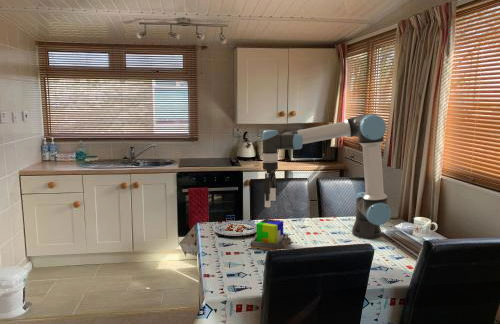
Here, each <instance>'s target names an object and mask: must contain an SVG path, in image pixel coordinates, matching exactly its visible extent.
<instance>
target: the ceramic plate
mask: <svg viewBox="0 0 500 324" xmlns="http://www.w3.org/2000/svg"><path fill="white" fill-rule="evenodd" d="M231 223H239V224H247V225H250V226H252V227H253V228H254V230H253V231H252V232H250V233H246V234H226V233H222V232H221V231H220V230H219V227H221V226H223V225H226V224H229V225H228V226H229V227H227V228H226V230H225V231H233V229H231V228H235V227H236V226H237V225H233V224H231ZM230 227H231V228H230ZM242 228H244V229H246V227H245V226H244V225H239V226H238V228H237V229H235V231H236V232H243V230H244V229H243V230H242ZM248 229H250V228H247V230H248ZM213 230H214V232H215V233H217V234H220V235H224V236H229V237H240V236H242V235H243V236H248V235H253V234H255V233H257V223H255V222H251V221H245V220H234V221H233V220H232V221H225V222H221V223H218V224H216V225H215V226H214V227H213ZM243 236H242V237H243Z"/></svg>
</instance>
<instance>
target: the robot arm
mask: <svg viewBox="0 0 500 324" xmlns="http://www.w3.org/2000/svg"><path fill="white" fill-rule="evenodd" d="M386 131H387V124H386V121H385V120H384V118H382V116H379V115H377V114H374V113H371V114H369V113H367V114H366V113H365V114H363V113H362V114H360V115H356V116H354V117H349V118H346V119H345V120H344V121H340V122H339V121H338V122H335V123H331V124H330V123H329V124H325V125H320V126H314V127H308V128H304V129H297V130H294V131H293V130H292V131H286V132H284V133H279V131H278V130H277V129H266V130H265V129H264V130H263V132H262V139H261V141H262V144H261V146H262V154H261V157H262V161H263V162H262V170H263V171H266V172H265V173H264V185H263V186H264V187H263V188H264V189H263V192H262V194H263V195H264V208H271V207H272V206H271V203H272V201H273V202H276V199H277V196H276V194H277V193H276V191H277V189H276V188H278V185H277V178H276V177H277V175H276V171H277V170H278V169H279V162H278V161H279V150H301V149H303V145H306V144H311V143H316V142H320V141H326V140H331V139H332V140H333V139H336V138H337V139H338V138H343V137H348V138H352V137H358V144H360V146H362V160H363V173H364V174H363V175H364V188H365V191H361V192H357V193H356V197H355V199H356V200H355V204H356V205H355V207H356V208H355V221H354V224H353V226H352V230H351V232H352V234H351V235H353V236H355V237H356V238H361V239H367V240H369V239H370V240H371V239H378V238H380V237H382V229H381V226H382V225H384V224H386V223H387V222H388V221H389V220H390V219H391V217H392V210H391V208H390V206H389V205H388V203H389V202H388V195H387V194H386V193H385V191H384V178H383V177H384V176H383V175H384V174H383V161H382V160H383V159H382V144H383V143H384V142H385V138H384V136H385V134H386Z"/></svg>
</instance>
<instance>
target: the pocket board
mask: <svg viewBox="0 0 500 324" xmlns="http://www.w3.org/2000/svg"><path fill="white" fill-rule="evenodd" d="M289 242H291V236H289V234H288V233H283V241H282V242H280V243H266V242H257V233H256V234H255V236H254V237H253V238H252V239H251V240H250V243H249V244H248V246H247V247H251V248H259V249H258V250H261V249H266V250H265V251H273V250H277V249H287V247H288V245H289Z"/></svg>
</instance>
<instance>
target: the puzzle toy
mask: <svg viewBox="0 0 500 324" xmlns="http://www.w3.org/2000/svg"><path fill="white" fill-rule="evenodd" d="M256 224H257V232H256V234H257V242H266V243H280V242H282V241H283V234H284V221H282V220H276V219H269V218H265V219H263V220H261V221H260V222H257V223H256Z"/></svg>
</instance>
